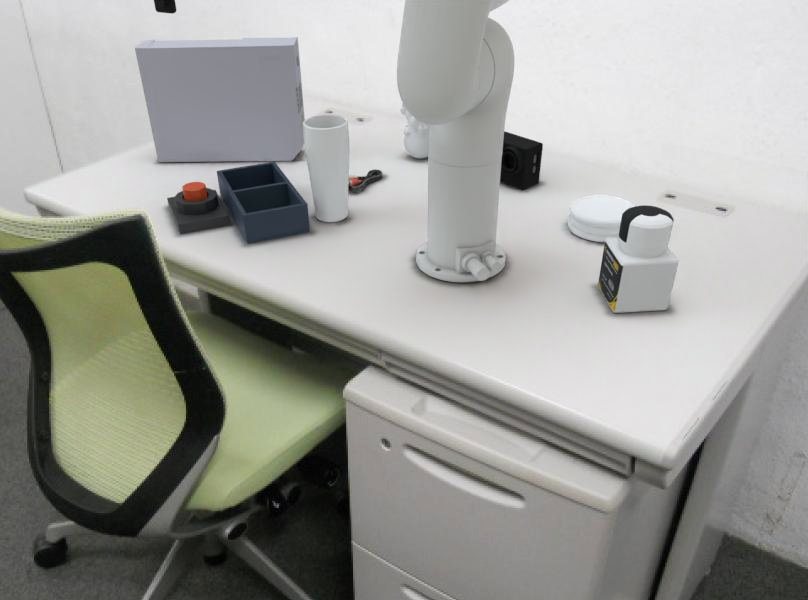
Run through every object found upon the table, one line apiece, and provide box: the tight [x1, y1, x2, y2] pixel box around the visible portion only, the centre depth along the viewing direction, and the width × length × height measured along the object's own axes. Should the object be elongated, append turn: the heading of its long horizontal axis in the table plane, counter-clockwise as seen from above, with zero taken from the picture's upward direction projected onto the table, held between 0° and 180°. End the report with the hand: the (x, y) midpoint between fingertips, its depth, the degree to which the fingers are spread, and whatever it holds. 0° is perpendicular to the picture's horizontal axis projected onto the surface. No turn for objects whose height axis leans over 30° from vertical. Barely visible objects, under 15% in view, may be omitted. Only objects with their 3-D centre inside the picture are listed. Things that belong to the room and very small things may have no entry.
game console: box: [134, 36, 306, 163], centre depth 139 cm, size 6×27×20 cm, turn 88°
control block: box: [166, 187, 232, 235], centre depth 124 cm, size 11×8×4 cm
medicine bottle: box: [597, 204, 679, 314], centre depth 98 cm, size 7×7×12 cm
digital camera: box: [500, 130, 544, 191], centre depth 131 cm, size 10×5×7 cm, turn 42°
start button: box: [181, 181, 207, 201], centre depth 122 cm, size 4×4×2 cm
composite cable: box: [348, 169, 383, 193], centre depth 132 cm, size 10×5×2 cm, turn 130°
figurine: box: [399, 102, 430, 159], centre depth 139 cm, size 7×7×12 cm
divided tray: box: [216, 161, 311, 245], centre depth 123 cm, size 19×10×5 cm, turn 21°
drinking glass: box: [303, 113, 350, 223], centre depth 119 cm, size 7×7×15 cm
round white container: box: [567, 194, 636, 243], centre depth 116 cm, size 10×10×4 cm
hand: (189, 5), depth 109 cm, fingers open, 9 cm apart
